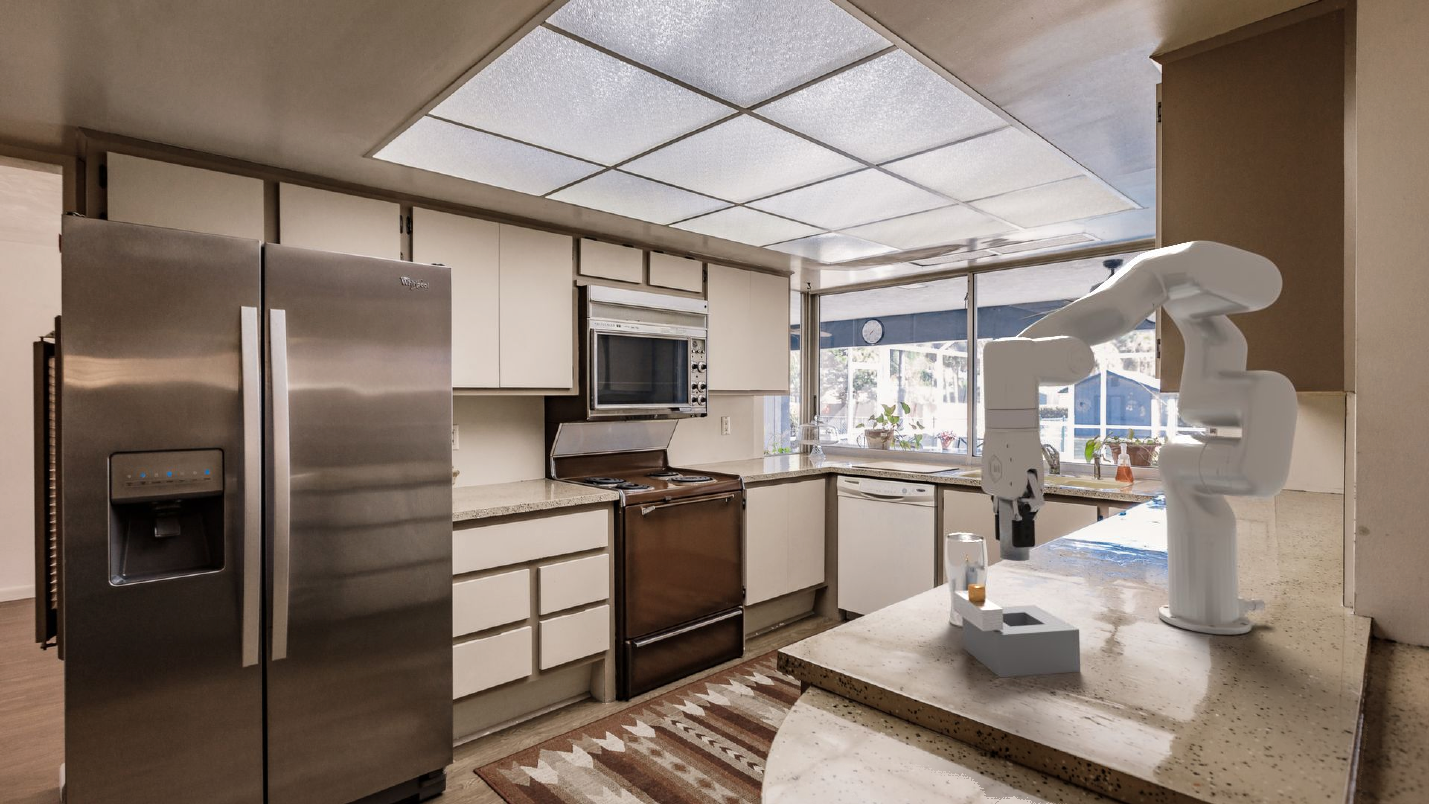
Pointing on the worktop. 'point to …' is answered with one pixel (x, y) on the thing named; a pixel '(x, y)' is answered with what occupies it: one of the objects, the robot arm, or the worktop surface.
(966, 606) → the bar
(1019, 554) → the grey capped cylinder
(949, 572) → the beer glass
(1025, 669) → the block
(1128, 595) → the worktop surface
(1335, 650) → the worktop surface
